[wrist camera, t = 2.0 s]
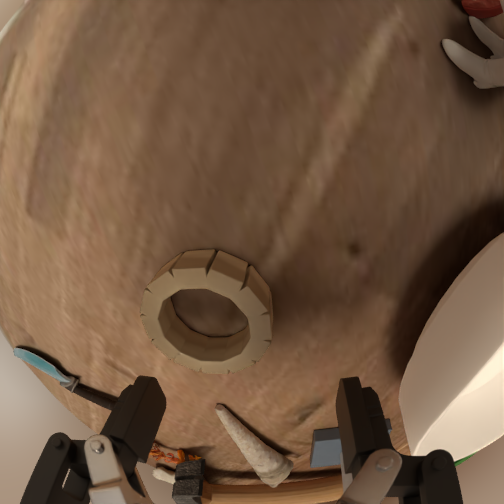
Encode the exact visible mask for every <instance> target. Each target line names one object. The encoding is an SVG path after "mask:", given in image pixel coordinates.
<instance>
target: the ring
mask: <svg viewBox="0 0 504 504" xmlns="http://www.w3.org/2000/svg"><path fill="white" fill-rule="evenodd" d="M247 265H248V263H247V262H245V261H243V260H241V259H239V258H236V257H234V256H232V255H229V254H227V253H225V252H222V251H220V250H219V251H218V253H217V255H216V252H215V249H210V250H196V251H186V252H185V253H184V254H183V253H180V254H179V255H178V256H176V257H175V258H174V259H172V260H171V261H170V262H168V263H167V264H166V265H165V266H163V267H162V268H161V269H160V271H159V272H158V273H157V274H156V275H155V277H154V278H153V279H152V280H151V282H150V283H149V284H148V285H147V288H146V289H145V291H144V295H143V299H142V304H141V308H140V313H142V314H141V316H140V317H141V319H142V322H143V325H144V327H145V330H146V332H147V335H148V337H149V338H150V339H152V341H151V342H152V343H153V344H154V345H155V346H156V347H157V348H158V349H159V350H160V351H161V352H162V353H163V354H164V355H165V356H167V357H168V358H169V359H170V360H171V359H173V358H174V362H175V363H177V364H179V365H182V366H184V367H187V368H189V369H192V370H194V371H197V372H199V371H200V369H201V370H202V373H210V374H229V372H230V371H231V372H232V373H235V372H238V371H240V370H242V369H245V368H247V367H250V366H252V365H254V364H255V363H256V362H259V360H260V359H261V357H262V356H263V354H264V353H265V352H266V350H267V349H268V347H269V346H270V344H271V340H272V336H273V307H272V295H271V291H269V286H268V285H267V284H266V282H265V281H264V280H263V279H262V277H261V276H260V275H259V274H258V272H257V271H256V270H255V269H254V267H253V266H252V265H251V266H249V267H248V268H247ZM180 289H208V290H211V291H213V292H215V293H218V294H220V295H222V296H225V297H227V298H230V299H231V300H232V301H233V302H234V303H235V304H236V305H237V307H238V308H239V309H240V310H241V311H242V312H243V313H244V315H245V316H246V317H247V318H248V325H247V327H246V328H245V329H244V330H242V331H240V332H238V333H236V334H234V335H232V336H230V337H207V336H204V335H202V334H199V333H197V332H195V331H192V330H190V329H189V328H188V327H187V326H186V325H185V324H184V323H183V322H182V321H181V320H180V319H179V318H178V317H177V316H176V314H175V311H174V307H173V304H172V301H171V296H172V295H173V294H174V293H176V292H177V291H179V290H180Z"/></svg>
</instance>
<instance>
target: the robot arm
mask: <svg viewBox="0 0 504 504" xmlns="http://www.w3.org/2000/svg"><path fill="white" fill-rule="evenodd" d="M165 409H166V397H165V395H164V393H163V391H162V389H161V387H160V385H159V383H158V381H157V379H156V378H155V377H148V376H141V375H140V376H138V377H137V379H136V381H135V383H134V385H129V386H128V387H127V388H125V389H124V390H123V391H122V393H121V395H120V396H119V398H118V402H116V404H115V406H114V408H113V410H112V412H111V414H110V416H109V417H108V419H107V421H106V423H105V425H104V427H103V429H102V431H101V433H100V434H97V435H93V436H91V437H90V438H88V439H87V440H71V439H70V438H69V437H68V436H67V435H66V434H64V433H61V432H60V433H55V434H53V435H52V436H51V437H50V438H49V440H48V442H47V444H46V446H45V448H44V450H43V452H42V454H41V456H40V458H39V460H38V462H37V464H36V466H35V469H34V471H33V473H32V475H31V478H30V480H29V482H28V485H27V487H26V490H25V492H24V495H23V497H22V499H21V502H20V504H89V502H90V500H91V502H92V504H154V503H153V502H152V500H151V499H150V497H149V495H148V493H147V491H146V489H145V486H144V484H143V482H142V480H141V477H140V475H139V472H138V470H137V468H136V464H137V461H138V462H142V463H146V462H147V459H148V456H149V453H150V450H151V448H152V445H153V442H154V439H155V436H156V434H157V431H158V428H159V426H160V423H161V420H162V417H163V415H164V412H165ZM336 413H337V420H338V426H339V433H340V440H341V447H342V455H343V463H344V472H345V474H349V473H352V478H353V481H352V483H351V484H350V485H349V487H348V488H347V489H346V491H345V492H344V493H343V495H342V496H341V497H340V499H339V500H338V501H337V503H336V504H381V502H382V500H383V499H384V497H398V498H399V504H463V500H462V495H461V490H460V485H459V480H458V476H457V472H456V468H455V464H454V460H453V457H452V455H451V454H450V453H449V452H448V451H446V450H443V449H437V450H433V451H431V452H430V453H428V454H427V455H426V456H406V455H403V454H400V453H399V452H397V451H396V450H395V449H394V448H393V446H392V443H391V440H390V436H389V432H388V428H387V425H386V421H385V418H384V415H383V411H382V407H381V404H380V401H379V397H378V395H377V394H376V392H375V391H374V390H373V389H372V388H371V387H365V388H362V387H361V383H360V380H359V377H349V378H341V379H340V382H339V388H338V393H337V398H336ZM68 469H71V470H70V472H69V475H68V477H67V480H66V482H65V485H64V488H62V485H63V482H64V479H65V477H66V474H67V472H68Z"/></svg>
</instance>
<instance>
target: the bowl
mask: <svg viewBox="0 0 504 504" xmlns="http://www.w3.org/2000/svg"><path fill="white" fill-rule="evenodd" d="M399 404H400V409H401V413H402V418H403V423H404V428H405V432H406V436H407V440H408V444H409V448H410V452H411V456H426V455H427V454H428V453H430V452H431V451H433V450H437V449H443V450H446V451H448V452H449V453H450V454H451V455H452V457H453V460H454V461H457V460H459V459H462V458H464V457H467V456H469V455H471V454H473V453H475V452H477V451H479V450H480V449H482V448H484V447H486V446H487V445H489V444H491V443H492V442H494V441H495V440H497V439H498V438H500V437H501V436H503V435H504V232H503V233H502V234H500V235H499V236H497V237H496V238H495V239H493V240H492V241H490V242H489V243H488V244H487V245H486V246H485V247H484V248H483V249H482V250H481V251H480V252H479V253H478V254H477V255H476V256H475V257H474V258H473V259H472V260H471V261H470V262H469V264H468V265H467V266H466V267H465V268H464V270H463V271H462V272H461V273H460V274H459V275H458V276H457V278H456V279H455V280H454V282H453V283H452V285H451V286H450V287H449V289H448V290H447V291H446V293H445V294H444V296H443V297H442V298H441V300H440V301H439V303H438V304H437V306H436V308H435V309H434V311H433V313H432V314H431V316H430V318H429V319H428V321H427V322H426V324H425V327H424V329H423V331H422V333H421V335H420V337H419V339H418V341H417V343H416V346H415V349H414V352H413V355H412V357H411V359H410V361H409V363H408V364H407V367H406V370H405V373H404V376H403V378H402V381H401V384H400V392H399Z"/></svg>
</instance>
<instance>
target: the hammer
mask: <svg viewBox="0 0 504 504" xmlns="http://www.w3.org/2000/svg"><path fill="white" fill-rule="evenodd" d="M204 470H205V459H201V460H194V461H186V462H182V463H179V464H178V465H177V466H176V472H175V478H174V479H175V481H176V482H174V485H173V492H172V498H173V499H174V501H175V502H176V503H177V504H316V503H321V502H327V501H332V500H337V499H340V497H341V496H342V495H343V481H342V474H341V475H336V476H331V477H325V478H319V479H313V480H306V481H298V482H289V483H280V484H278V485H277V487H274V488H273V487H271V486H270V485H269V484H261V485H218V484H209V483H208V482H207V481H206V480H205V478H204V477H203V476H202V475H204Z"/></svg>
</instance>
